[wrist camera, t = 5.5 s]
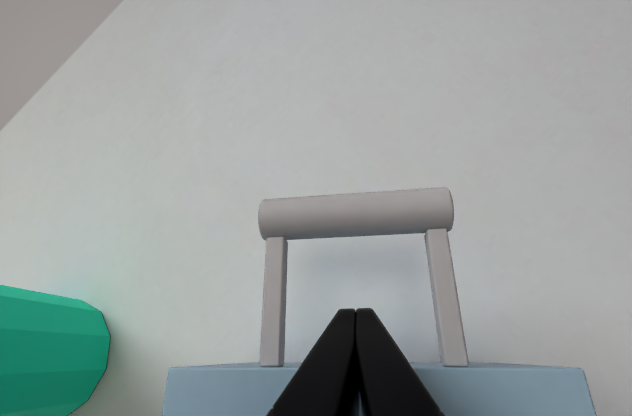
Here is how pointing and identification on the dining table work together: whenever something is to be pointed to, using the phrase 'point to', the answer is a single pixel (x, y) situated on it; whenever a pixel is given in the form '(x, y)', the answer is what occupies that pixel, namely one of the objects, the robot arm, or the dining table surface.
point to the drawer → (439, 378)
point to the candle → (48, 352)
